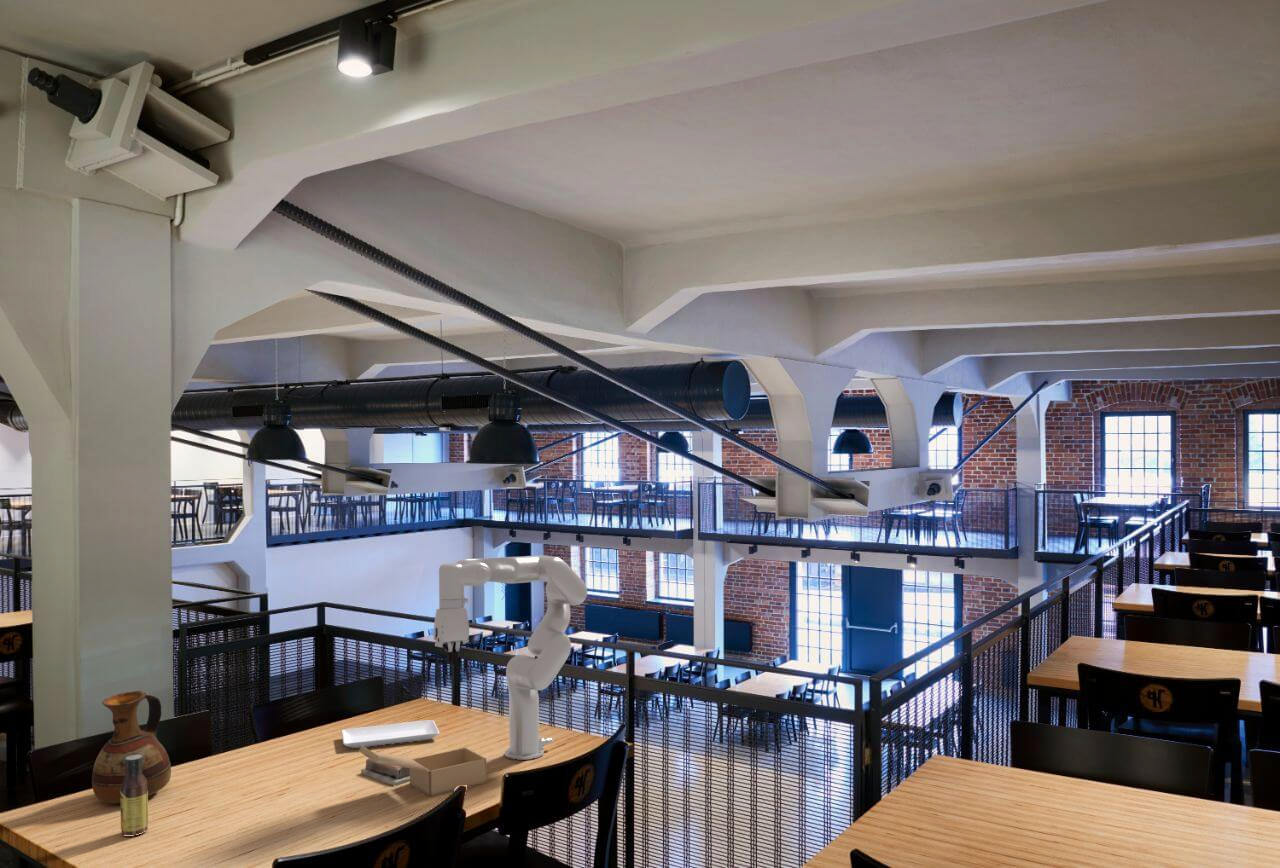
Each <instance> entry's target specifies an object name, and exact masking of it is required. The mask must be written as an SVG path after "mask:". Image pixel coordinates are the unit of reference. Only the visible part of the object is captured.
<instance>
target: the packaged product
mask: <svg viewBox="0 0 1280 868" xmlns="http://www.w3.org/2000/svg"><path fill="white" fill-rule="evenodd" d="M360 774H361V775H363V774H364V776H367V777H369V778H371V779H375V780H378V781H380V782H383V783H385V784H389V785H391V786H394V785H395V786H396V787H397V786H399V785H402V784H405V783H408V782H409V783H410V768H405V767H399V766H392V765H385V764H378V763H375V762H374V761H372V760H371V759H369V758H367V759H366V761H365V768H363V769H361V770H360Z"/></svg>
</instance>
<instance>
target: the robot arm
mask: <svg viewBox="0 0 1280 868" xmlns="http://www.w3.org/2000/svg"><path fill="white" fill-rule="evenodd" d="M487 582H492V583H499V584H512V585H513V584H524V583H537V582H545V583H546V586H545V595H546V599H547V608H546V612H545V614H544V616H543V618H542V620H541V621H540V622H539V624H538V625H537V627H535V630H534V631H533V633H532V634H531V636H530V637H529V639H528V641H527V650H528V652H529V653H530V654H532V655H533V657H532V656H529V655H523V654H522V655H521V654H520V655H515V656H513V657H512V658H511V659H510V660H509V661H508V663H507V665H506V669H505V676H506V682H507V683H506V684H507V687H508V702H509V703H508V705H509V706H508V712H509V713H508V714H509V715H508V716H509V719H508V720H509V723H508V724H509V734H508V735H509V747H508V748H506V749H505V750H504V756H505V757H506V758H508V759H510V758H511V760H515V759H517V761H518V760H519V761H524V760H534V759H537V758H539V757H542V756H543V755H544V754H545V749H544V748H543V747H545V746H546V745H551V744H553V739H552V737H547V738H545V737H540V722H539V721H540V717H539V716H540V713H539V712H540V711H539V710H540V708H539V707H540V706H539V705H540V703H539V702H540V697H539V692H538V691H543V690H545V689H547V688H548V687H549V686H551V684H552V682H553V681H554V680H555V678H556V676H557V675H558V673H559V672H560V671H561V668H563V666H564V665H565V663H566V661H567V659H568V658H569V656H570V653H571V648H572V644H571V643H572V642H571V639H570V637H569V636H568V635H567V634H566V633H565V631H566V630H567V628H568V626H569V624H570V621H571V606H578V605H581V604H583V602H584V601H585V600H586V599H587V597H588V588H587V585H586V583H585V581H584V580H582V578H581V577H580V576H579V575H578V574H577V573H576V572H575V571H574V569H573V568H571V566H570V565H568V563H566V561H564V560H563V559H561V558H560V557H557V556H551V555H550V556H549V555H539V554H538V555H526V556H525V555H524V556H506V557H505V556H504V557H502V556H501V557H485V558H483V557H482V558H479V557H478V558H464V559H459V560H458V561H456V562H448V563H443V564H440V565H439V568H438V595H439V596H438V601H439V602H438V608H437V609H436V610H435V611H436V612H435V616H434V623H433V640H434V641H435V643H434V646H435V647H438V648H442V649H444V651H445V652H446V662H447V664H448V665H450V666H455V665H457V664H458V661H459V660H458V659H459V651H460V649H461V648H462V646H463V645H465V644H468V643H469V642H470V639H469V637H470V622H469V616H468V609H467V607H466V606H465V605H466V604H468V603H469V600H468V598H465V586H471V587H479V586H483V585H484V584H487ZM534 656H535V657H534ZM533 758H534V759H533Z"/></svg>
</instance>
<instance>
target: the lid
mask: <svg viewBox="0 0 1280 868" xmlns="http://www.w3.org/2000/svg"><path fill="white" fill-rule="evenodd" d="M358 752H359V753H360V754H362V755H364V756H365V757H366V758H367V759H371V760H372V761H374V762H375V763H378V764H385V765H392V766H399V767H405V768H412V769H419V770H427V769H426V768H424V767H422V766H421V765H419V764H418V763H416V762H414V761H413V760H411V759H412V758H409V757H408V756H402V755H395V754H389V753H382V752H376V751H372V750H370V749H369V748H368V747H364V746H362V745H361V748H359V750H358Z"/></svg>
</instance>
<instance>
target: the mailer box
mask: <svg viewBox="0 0 1280 868" xmlns="http://www.w3.org/2000/svg"><path fill="white" fill-rule="evenodd" d="M410 759H411V760H413V761H414V762H416V763H418V764H419V765H421V766H422V767H424V768H426V769H427V770H419V769H412V768H410V781H409V784H410V785H412V786H413V787H414V788H416V789H418V790H419V791H421V792H422V793H423V794H425V795H427V796H428V797H429V798H430V797H434V796H438V795H442V794H445V793H450V792H453V790H454V789H455V788H456V787H457V786H459V785H467V788H470V786H471V787H474V786H478V785H482V784H486V783H487V779H488V778H487V758H485V757H484V756H482V755H480V754H478V753H476V752H474V751H472V750H471V749H469V748H467V747H461V748H456V749H451V750H447V751H442V752H438V753H433V754H429V755H424V756H420V757H415V758H410Z"/></svg>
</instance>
